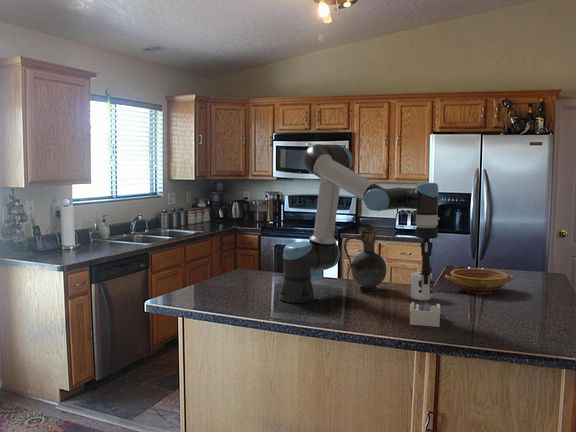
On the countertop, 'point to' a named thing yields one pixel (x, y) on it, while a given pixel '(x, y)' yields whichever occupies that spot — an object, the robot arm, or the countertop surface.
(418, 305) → the clip
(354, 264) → the pitcher
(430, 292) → the grey tapered rounded piece
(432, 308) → the clip
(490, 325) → the countertop surface
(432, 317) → the end holder
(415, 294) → the mug
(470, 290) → the ceramic bowl
